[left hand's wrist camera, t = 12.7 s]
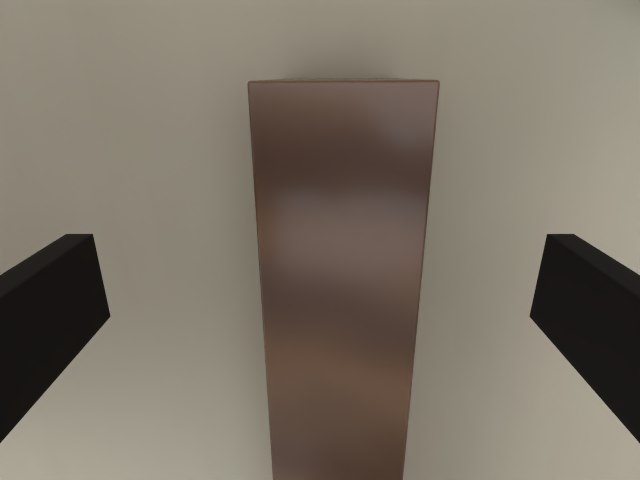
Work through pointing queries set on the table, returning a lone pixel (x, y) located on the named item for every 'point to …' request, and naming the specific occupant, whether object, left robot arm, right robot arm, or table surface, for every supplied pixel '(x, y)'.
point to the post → (340, 266)
